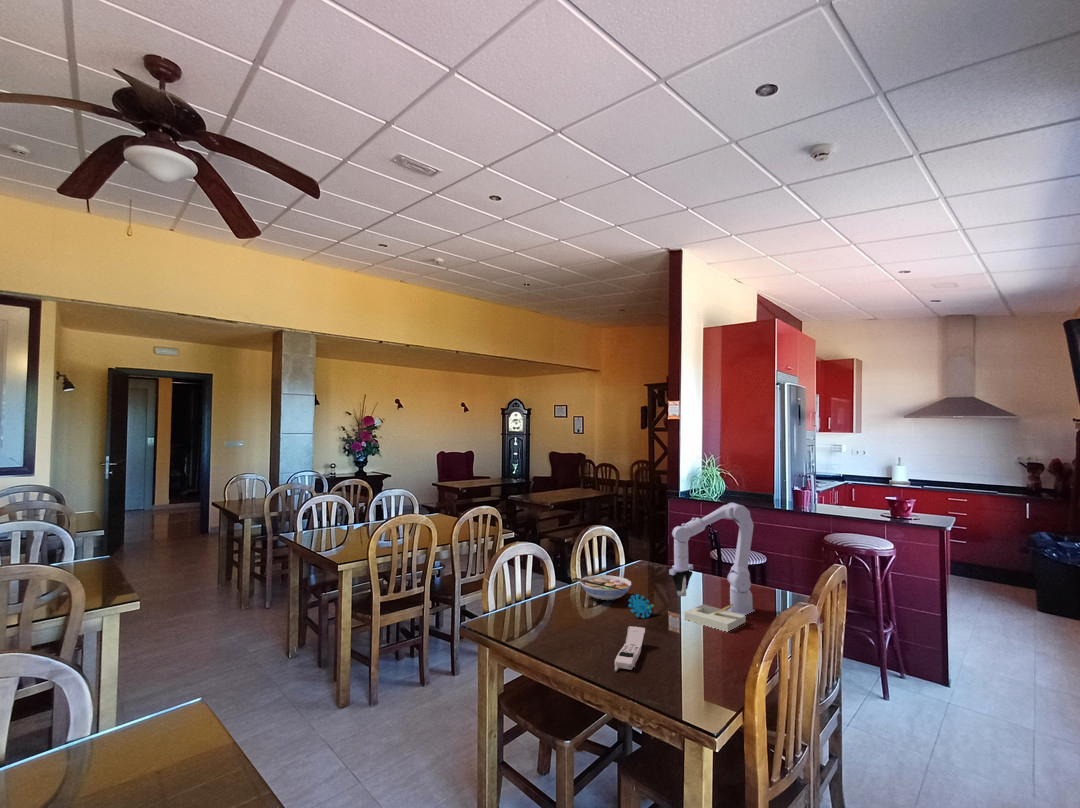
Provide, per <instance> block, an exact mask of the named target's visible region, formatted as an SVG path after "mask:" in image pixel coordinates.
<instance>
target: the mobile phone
mask: <svg viewBox="0 0 1080 808" xmlns="http://www.w3.org/2000/svg"><path fill="white" fill-rule="evenodd" d="M645 633H646V627H640V626H630V625H629V626H628V627H627V633H626V638H625V643H624V644H623V646H622V647H621V649H620V650H619V651H618V653H617V655H616V657H615V659H614V672H617V671H618V670H619V669H623V670H624V669H626V670H629V671H630V670H632V669H633V667H634V668H636V663H637V661H638V659H639V657H640V654H641V651H642V645H643V640H644V635H645Z"/></svg>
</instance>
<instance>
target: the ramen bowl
mask: <svg viewBox="0 0 1080 808" xmlns="http://www.w3.org/2000/svg"><path fill="white" fill-rule="evenodd" d="M572 581H577V582H579V583H580V585H581V587H582V588H583V590H584V592H585V593H587V594H588V595H589V596H591V597H592V598H595V599H597V600H599V599H601V600H612V601H614V600H617V599H619V598H622V597H623V596H625V595H626V594H627V593H628V591H629V590H630V589H631V586H632V581H631V580H629V579H628V578H626V577H625V578H624V577H622V576H615V575H605V574H602V575H601V574H600V575H599V574H598V575H590V576H584V577H583V578H581V577H580V578H579V577H574V578H572ZM613 599H614V600H613ZM601 600H600V601H601Z"/></svg>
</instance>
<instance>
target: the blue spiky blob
mask: <svg viewBox="0 0 1080 808" xmlns="http://www.w3.org/2000/svg"><path fill="white" fill-rule="evenodd" d="M640 596H641V597H640ZM639 598H640V599H639ZM628 602H629V604H628V608H632V609H630V612H631V613H632V614H634V612H636V613H635V617H637V618H639V617H640V618H641V619H645V618H649V617H650V615H651V613H653V611H652V609H653V607H654V604H653V603H651V604H649V603H650V601H649V599H647V598H646V600H645V596H644V595H639V593H636V594H635V595H634V594H633V595H631V596H630V598H629V599H628ZM640 615H641V616H640Z"/></svg>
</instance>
